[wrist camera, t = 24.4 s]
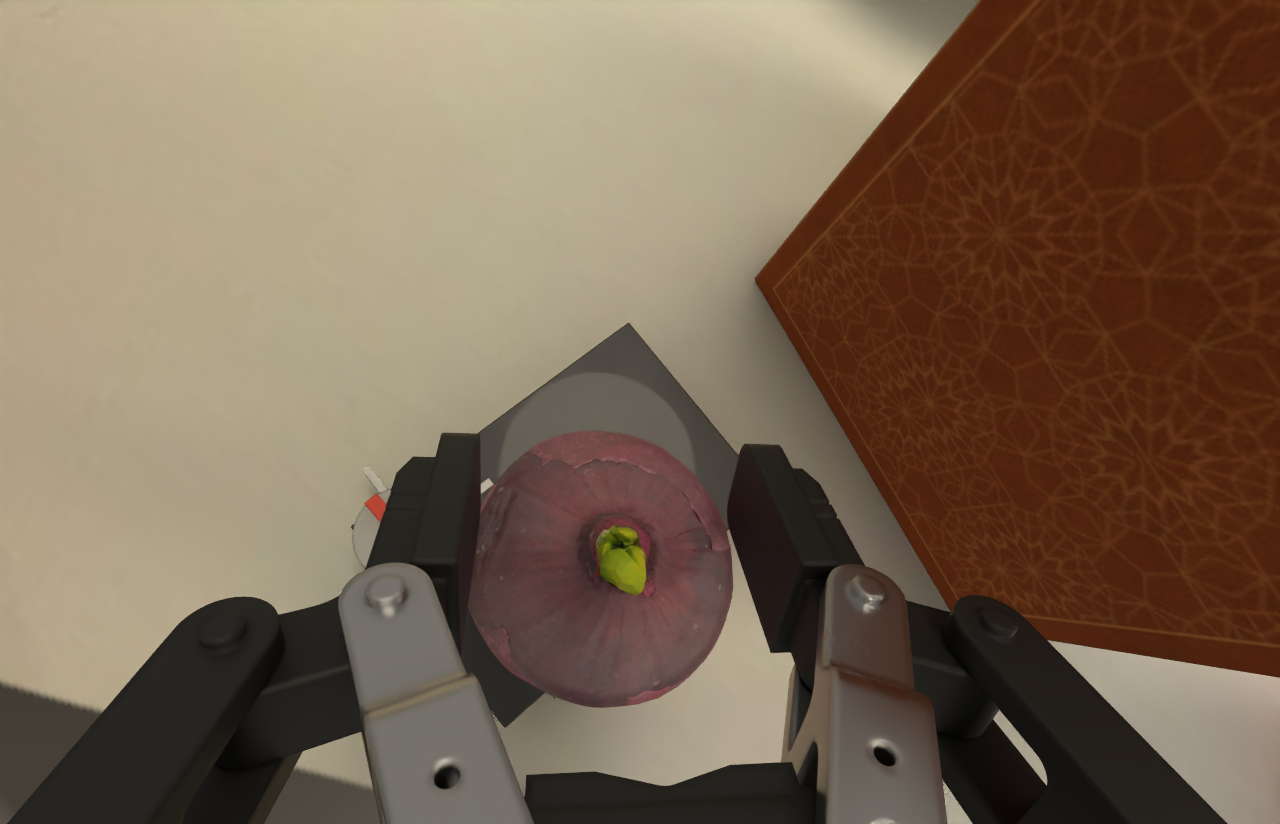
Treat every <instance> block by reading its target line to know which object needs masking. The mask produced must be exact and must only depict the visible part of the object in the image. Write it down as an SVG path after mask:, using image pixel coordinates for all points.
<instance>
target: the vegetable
mask: <svg viewBox="0 0 1280 824" xmlns="http://www.w3.org/2000/svg"><path fill="white" fill-rule="evenodd" d="M732 591H733V576H732V556H731V548H730V544H729V540H728V536H727V531H726V527H725V525H724V522H723V520H722V518H721V516H720V514H719V512H718V510H717V508H716V506H715V504H714V502H713V500H712V498H711V497H710V495H709V494H708V492H707V491H706V489H705V488H704V487H703V485H702V484H701V483H700V481H699V480H698V479H697V477H696V476H695V475H694V474H693V473H692V472H691V471H690V470H689V469H688V468H687V467H686V466H685V465H684V464H683V463H682V462H680V461H679V460H678V459H676V458H675V457H674V456H673V455H671V454H670V453H669V452H667V451H666V450H664V449H663V448H661V447H659V446H658V445H656V444H654V443H651V442H649V441H647V440H644V439H641V438H639V437H636V436H632V435H628V434H623V433H614V432H606V431H594V430H587V431H577V432H571V433H567V434H563V435H559V436H555V437H553V438H550V439H548V440H546V441H543V442H541V443H539V444H537V445H536V446H534V447H533V448H531V449H530V450H528V451H527V452H526V453H524V454H523V455H522V456H521V457H520V458H519V459H518V460H516V461H515V462H514V463H513V464H511V465H510V466H509V467H508V468H507V469H506V470H505V472H504V473H503V474H502V475H501V476H500V478H499V479H498V480H497V481H496V483H495V484H494V485H493V486H492V487H491V489H490V491H489V492H488V494H487V496H486V498H485V499H484V501H483V503H482V505H481V508H480V521H479V529H478V536H477V544H476V551H475V558H474V565H473V573H472V580H471V587H470V595H469V602H468V608H469V610H470V613H471V616H472V618H473V620H474V623H475V625H476V627H477V629H478V631H479V633H480V634H481V636H482V637H483V639H484V641H485V642H486V644H487V645H488V647H489V648H490V650H491V652H492V653H493V654H494V655H495V656H496V658H497V659H498V660H499V661H500V662H501V664H502V665H503V666H504V667H505V668H506V669H507V670H509V671H510V672H511V673H512V674H514V675H516V676H517V677H519V678H521V679H522V680H524V681H526V682H528V683H529V684H531V685H533V686H534V687H536V688H538V689H539V690H541V691H543V692H545V693H547V694H549V695H551V696H553V697H554V698H559V699H562V700H565V701H568V702H571V703H575V704H578V705H582V706H588V707H599V708H605V707H618V706H627V705H634V704H640V703H643V702H646V701H650V700H653V699H656V698H659V697H661V696H662V695H664V694H666V693H668V692H669V691H671V690H673V689H674V688H676V687H678V686H679V685H680V684H681V683H682V682H684V681H685V680H686V679H687V678H689V677H690V675H691V674H692V673H693V672H694V671H695V670H696V669H697V668H698V667H699V666H700V665H701V664H702V663H703V662H704V660H705V659H706V658H707V656H708V655H709V653H710V652H711V651H712V649H713V648H714V646H715V644H716V642H717V640H718V638H719V636H720V634H721V631H722V628H723V626H724V623H725V621H726V616H727V613H728V610H729V607H730V603H731V599H732Z"/></svg>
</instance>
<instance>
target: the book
mask: <svg viewBox="0 0 1280 824" xmlns="http://www.w3.org/2000/svg"><path fill="white" fill-rule="evenodd" d="M755 281H756V283H757V285H758V287H759V288H760V290H761V292H762V293H763V295H764V297H765V298H766V300H767V302H768V303H769V305H770V307H771V309H772V310H773V312H774V314H775V315H776V317H777V319H778V320H779V322H780V324H781V325H782V327H783V329H784V330H785V332H786V334H787V336H788V337H789V339H790V341H791V342H792V344H793V346H794V347H795V349H796V351H797V352H798V354H799V356H800V358H801V359H802V361H803V363H804V364H805V366H806V368H807V369H808V371H809V373H810V374H811V376H812V378H813V380H814V381H815V383H816V385H817V386H818V388H819V390H820V391H821V393H822V395H823V396H824V398H825V400H826V401H827V403H828V405H829V407H830V408H831V410H832V412H833V413H834V415H835V417H836V418H837V420H838V422H839V423H840V425H841V427H842V429H843V430H844V432H845V434H846V435H847V437H848V439H849V440H850V442H851V444H852V445H853V447H854V449H855V450H856V452H857V454H858V456H859V457H860V459H861V461H862V462H863V464H864V466H865V467H866V469H867V471H868V472H869V474H870V476H871V478H872V479H873V481H874V483H875V484H876V486H877V488H878V489H879V491H880V493H881V494H882V496H883V498H884V499H885V501H886V503H887V505H888V506H889V508H890V510H891V511H892V513H893V515H894V516H895V518H896V520H897V521H898V523H899V525H900V527H901V528H902V530H903V532H904V533H905V535H906V537H907V538H908V540H909V542H910V543H911V545H912V547H913V548H914V550H915V552H916V554H917V555H918V557H919V559H920V560H921V562H922V564H923V565H924V567H925V569H926V570H927V572H928V574H929V576H930V577H931V579H932V581H933V582H934V584H935V586H936V587H937V589H938V591H939V592H940V594H941V596H942V598H943V599H944V601H945V603H946V604H947V606H948V608H949V609H950V611H952V609H953V607H954V605H955V603H956V602H957V601H958V600H959V599H960V598H962V597H964V596H968V595H981V596H986V597H990V598H993V599H996V600H998V601H1001V602H1003V603H1005V604H1006V605H1008V606H1010V607H1011V608H1013V609H1015V610H1016V611H1017V612H1019V613H1020V614H1021V615H1022V616H1023V617H1024V618H1025V619H1027V620H1028V621H1029V623H1030V624H1031V625H1032V626H1033V627H1034V628H1035V629H1036V630H1037V631H1038V632H1039V633H1040V634H1041V635H1042V636H1043V637H1044V638H1045V639H1046V640H1051V641H1057V642H1063V643H1069V644H1075V645H1082V646H1088V647H1094V648H1100V649H1106V650H1113V651H1119V652H1125V653H1131V654H1137V655H1143V656H1150V657H1156V658H1162V659H1168V660H1174V661H1181V662H1187V663H1193V664H1199V665H1205V666H1211V667H1218V668H1224V669H1230V670H1236V671H1242V672H1249V673H1255V674H1261V675H1267V676H1273V677H1280V0H979V2H978V3H977V4H976V5H975V7H974V8H973V9H972V10H971V11H970V13H969V14H968V15H967V16H966V18H965V19H964V20H963V21H962V23H961V24H960V25H959V26H958V28H957V29H956V30H955V31H954V32H953V34H952V35H951V36H950V37H949V39H948V40H947V41H946V42H945V44H944V45H943V46H942V47H941V49H940V50H939V51H938V52H937V54H936V55H935V56H934V57H933V58H932V60H931V61H930V62H929V63H928V65H927V66H926V67H925V68H924V70H923V71H922V72H921V73H920V75H919V76H918V77H917V78H916V79H915V81H914V82H913V83H912V84H911V86H910V87H909V88H908V89H907V91H906V92H905V93H904V94H903V96H902V97H901V98H900V99H899V100H898V102H897V103H896V104H895V105H894V107H893V108H892V109H891V110H890V112H889V113H888V114H887V115H886V117H885V118H884V119H883V120H882V122H881V123H880V124H879V125H878V126H877V128H876V129H875V130H874V131H873V133H872V134H871V135H870V136H869V138H868V139H867V140H866V141H865V143H864V144H863V145H862V146H861V147H860V149H859V150H858V151H857V152H856V154H855V155H854V156H853V157H852V159H851V160H850V161H849V162H848V164H847V165H846V166H845V167H844V168H843V170H842V171H841V172H840V173H839V175H838V176H837V177H836V178H835V180H834V181H833V182H832V183H831V185H830V186H829V187H828V188H827V190H826V191H825V192H824V193H823V194H822V196H821V197H820V198H819V199H818V201H817V202H816V203H815V204H814V206H813V207H812V208H811V209H810V211H809V212H808V213H807V214H806V215H805V217H804V218H803V219H802V220H801V222H800V223H799V224H798V225H797V227H796V228H795V229H794V230H793V232H792V233H791V234H790V235H789V237H788V238H787V239H786V240H785V241H784V243H783V244H782V245H781V246H780V248H779V249H778V250H777V251H776V253H775V254H774V255H773V256H772V258H771V259H770V260H769V261H768V262H767V264H766V265H765V266H764V268H763V269H762V270H761V271H760V273H759V274H758V275H757V277H756V278H755Z"/></svg>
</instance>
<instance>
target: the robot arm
mask: <svg viewBox="0 0 1280 824" xmlns="http://www.w3.org/2000/svg"><path fill="white" fill-rule="evenodd" d="M480 508H481V447H480V434H469V433H442V434H441V438H440V441H439V445H438V449H437V453H436V457H412V458H411V459H410V460H409V461H408V462H407V463H406V464H405V465H404V466H403V467H402V468H401V469H400V470H399V471H398V472H397V473H396V476H395V480H394V483H393V486H392V489H391V494H390V495H389V498H388V501H387V504H386V510H385V511H384V513H383V516H382V519H381V522H380V525H379V528H378V532H377V535H376V538H375V541H374V544H373V547H372V550H371V553H370V556H369V559H368V562H367V565H366V568H365V570H364V571H362V572H360V573H359V574H357V575H356V576H354V577H353V578H352V579H351V580H350V581H349V582H348V583H347V584H346V585H345V587H344V588H343V590H342V591H341V594H340V596H338V597H336V598H334V599H332V600H330V601H328V602H325V603H323V604H320V605H316V606H313V607H309V608H305V609H301V610H297V611H293V612H289V613H285V614H281V615H278V614H277V611H276V610H275V608H274V607H273V606H272V605H271V604H269V603H268V602H266V601H264V600H261V599H258V598H254V597H233V598H227V599H223V600H219V601H216V602H213V603H211V604H208V605H206V606H204V607H202V608H200V609H198V610H196V611H195V612H193V613H192V614H190V615H189V616H187V617H186V618H185V619H184V620H182V621H181V622H180V623H179V624H178V625H177V626H176V627H175V629H174V630H173V631H172V632H171V633H170V634H169V636H168V637H167V638H166V639H165V640H164V641H163V643H162V644H161V645H160V646H159V647H158V648H157V650H156V651H155V652H154V653H153V654H152V655H151V657H150V658H149V659H148V660H147V661H146V662H145V664H144V665H143V666H142V667H141V668H140V669H139V671H138V672H137V673H136V674H135V675H134V676H133V678H132V679H131V680H130V681H129V682H128V683H127V685H126V686H125V687H124V688H123V689H122V690H121V692H120V693H119V694H118V695H117V696H116V697H115V699H114V700H113V701H112V702H111V703H110V704H109V706H108V707H107V708H106V709H105V710H104V711H103V713H102V714H101V715H100V716H99V717H98V718H97V720H96V721H95V722H94V723H93V724H92V725H91V726H90V728H89V729H88V730H87V731H86V732H85V734H84V735H83V736H82V737H81V738H80V739H79V740H78V742H77V743H76V744H75V745H74V746H73V748H72V749H71V750H70V751H69V752H68V753H67V754H66V756H65V757H64V758H63V759H62V760H61V761H60V763H59V764H58V765H57V766H56V767H55V769H54V770H53V771H52V772H51V773H50V774H49V776H48V777H47V778H46V779H45V780H44V781H43V782H42V784H41V785H40V786H39V787H38V788H37V789H36V791H35V792H34V793H33V794H32V795H31V796H30V798H29V799H28V800H27V801H26V802H25V803H24V805H23V806H22V807H21V808H20V809H19V810H18V812H17V813H16V814H15V815H14V816H13V817H12V819H11V820H10V821H9V822H8V823H7V824H264V822H265V820H266V819H267V817H268V815H269V813H270V811H271V809H272V807H273V806H274V804H275V802H276V800H277V798H278V796H279V794H280V792H281V791H282V789H283V787H284V785H285V783H286V781H287V780H288V778H289V776H290V774H291V772H292V770H293V768H294V767H295V765H296V763H297V761H298V759H299V757H300V755H301V754H302V752H303V751H305V750H308V749H311V748H314V747H317V746H320V745H323V744H326V743H329V742H332V741H335V740H338V739H340V738H343V737H346V736H349V735H352V734H355V733H358V732H361V733H362V738H363V743H364V747H365V752H366V757H367V762H368V766H369V771H370V776H371V780H372V785H373V790H374V795H375V799H376V804H377V808H378V813H379V818H380V823H381V824H947V816H946V807H945V799H944V791H943V782H942V779H943V781H944V782H945V783H946V785H947V786H948V788H949V789H950V791H951V792H952V794H953V795H954V797H955V798H956V800H957V801H958V803H959V804H960V805H961V807H962V808H963V810H964V811H965V813H966V814H967V816H968V817H969V819H970V820H971V822H972V823H973V824H1227V823H1226V822H1225V821H1224V820H1223V819H1222V818H1221V817H1220V816H1219V815H1218V814H1217V813H1216V812H1215V811H1214V810H1213V809H1212V808H1211V807H1210V806H1209V805H1208V803H1207V802H1206V801H1205V800H1204V799H1203V798H1202V797H1201V796H1200V795H1199V794H1198V793H1197V792H1196V791H1195V790H1194V789H1193V788H1192V787H1191V786H1190V785H1189V784H1188V783H1187V782H1186V781H1185V780H1184V779H1183V778H1182V777H1181V776H1180V775H1179V774H1178V773H1177V772H1176V771H1175V770H1174V769H1173V768H1172V767H1171V766H1170V765H1169V764H1168V763H1167V762H1166V761H1165V760H1164V759H1163V758H1162V757H1161V756H1160V755H1159V754H1158V753H1157V752H1156V751H1155V750H1154V749H1153V748H1152V747H1151V746H1150V745H1149V744H1148V742H1147V741H1146V740H1145V739H1144V738H1143V737H1142V736H1141V735H1140V734H1139V733H1138V732H1137V731H1136V730H1135V729H1134V728H1133V727H1132V726H1131V725H1130V724H1129V723H1128V722H1127V721H1126V720H1125V719H1124V718H1123V717H1122V716H1121V715H1120V714H1119V713H1118V712H1117V711H1116V710H1115V709H1114V708H1113V707H1112V706H1111V705H1110V704H1109V703H1108V702H1107V701H1106V700H1105V699H1104V698H1103V697H1102V696H1101V695H1100V694H1099V693H1098V692H1097V691H1096V690H1095V689H1094V688H1093V687H1092V686H1091V685H1090V684H1089V683H1088V681H1087V680H1086V679H1085V678H1084V677H1083V676H1082V675H1081V674H1080V673H1079V672H1078V671H1077V670H1076V669H1075V668H1074V667H1073V666H1072V665H1071V664H1070V663H1069V662H1068V661H1067V660H1066V659H1065V658H1064V657H1063V656H1062V655H1061V654H1060V653H1059V652H1058V651H1057V650H1056V649H1055V648H1054V647H1053V646H1052V645H1051V644H1050V643H1049V642H1048V641H1047V640H1046V639H1045V638H1044V637H1043V636H1042V635H1041V634H1040V633H1039V632H1038V631H1037V630H1036V629H1035V628H1034V627H1033V626H1032V625H1031V624H1030V623H1029V621H1028V620H1027V619H1025V618H1024V617H1023V616H1022V615H1021V614H1020V613H1019V612H1017V611H1016V610H1015V609H1013V608H1011V607H1010V606H1008V605H1006V604H1005V603H1003V602H1001V601H998V600H996V599H993V598H990V597H986V596H981V595H968V596H964V597H962V598H960V599H959V600H958V601H957V602H956V603H955V605H954V607H953V609H952V611H951V612H948V611H944V610H940V609H936V608H932V607H928V606H924V605H920V604H917V603H913V602H910V601H907V600H906V599H905V596H904V594H903V593H902V591H901V589H900V588H899V587H898V586H897V585H896V584H895V583H894V582H893V581H892V580H891V579H890V578H888V577H887V576H886V575H884V574H882V573H881V572H879V571H877V570H875V569H872V568H869V567H866V566H865V565H864V563H863V561H862V559H861V558H860V556H859V554H858V552H857V550H856V549H855V547H854V545H853V543H852V541H851V540H850V538H849V536H848V534H847V532H846V531H845V529H844V527H843V525H842V523H841V522H840V520H839V519H837V514H836V512H835V511H834V509H833V507H832V505H829V500H828V498H827V496H826V494H825V493H824V491H823V489H822V487H821V485H820V484H819V483H818V482H817V481H816V480H815V479H813V478H812V477H811V476H810V475H809V474H808V473H807V472H805V471H804V470H803V469H797V468H792V467H791V465H790V463H789V461H788V459H787V457H786V455H785V453H784V451H783V449H782V448H781V447H780V446H779V445H765V444H744V445H743V446H742V448H741V450H740V454H739V458H738V462H737V466H736V470H735V474H734V478H733V482H732V486H731V490H730V494H729V498H728V504H727V520H728V526H729V530H730V533H731V536H732V539H733V542H734V545H735V548H736V551H737V554H738V557H739V560H740V563H741V565H742V568H743V571H744V574H745V577H746V580H747V583H748V586H749V589H750V592H751V595H752V598H753V601H754V604H755V607H756V610H757V613H758V616H759V619H760V622H761V625H762V628H763V631H764V634H765V637H766V640H767V643H768V646H769V649H770V652H771V653H783V652H791V654H792V656H793V659H794V662H795V664H794V667H793V669H792V672H791V675H790V680H789V689H788V699H787V709H786V719H785V729H784V738H783V748H782V758H781V763H761V764H741V765H729V766H726V767H723V768H720V769H717V770H714V771H712V772H709V773H706V774H703V775H700V776H697V777H694V778H692V779H689V780H686V781H683V782H680V783H677V784H674V785H670V786H659V785H654V784H650V783H645V782H640V781H636V780H631V779H627V778H622V777H617V776H613V775H608V774H604V773H599V772H578V773H558V774H537V775H526V791H525V797H524V796H523V794H522V791H521V789H520V786H519V783H518V781H517V778H516V776H515V773H514V771H513V768H512V765H511V763H510V760H509V758H508V755H507V752H506V750H505V747H504V745H503V742H502V740H501V737H500V734H499V732H498V729H497V727H496V724H495V722H494V719H493V716H492V714H491V711H490V709H489V706H488V704H487V701H486V698H485V696H484V693H483V691H482V688H481V686H480V683H479V681H478V679H477V678H476V676H475V675H474V674H473V673H470V674H467V673H466V671H465V669H464V666H463V663H462V661H461V653H462V646H463V638H464V631H465V624H466V616H467V609H468V602H469V595H470V587H471V580H472V573H473V565H474V558H475V551H476V544H477V536H478V529H479V521H480ZM999 709H1000V711H1001V712H1002V713H1003V714H1004V716H1005V717H1006V718H1007V719H1008V720H1009V722H1010V723H1011V724H1012V725H1013V726H1014V728H1015V729H1016V730H1017V731H1018V732H1019V734H1020V735H1021V736H1022V737H1023V739H1024V740H1025V741H1026V742H1027V743H1028V745H1029V746H1030V747H1031V748H1032V749H1033V751H1034V752H1035V753H1036V754H1037V756H1038V757H1039V758H1040V760H1041V762H1042V764H1043V766H1044V768H1045V771H1046V775H1047V786H1046V784H1045V783H1044V782H1043V781H1042V779H1041V778H1040V777H1039V776H1038V775H1037V773H1036V772H1035V771H1034V770H1033V768H1032V767H1031V766H1030V765H1029V763H1028V762H1027V761H1026V760H1025V758H1024V757H1023V756H1022V755H1021V753H1020V752H1019V751H1018V750H1017V748H1016V747H1015V746H1014V745H1013V743H1012V742H1011V741H1010V740H1009V739H1008V737H1007V736H1006V735H1005V734H1004V732H1003V731H1002V730H1001V729H1000V727H999V726H998V725H997V724H996V722H995V721H994V720H993V718H994V717H995V715H996V714H997V712H998V711H999Z"/></svg>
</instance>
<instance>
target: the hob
mask: <svg viewBox="0 0 1280 824" xmlns="http://www.w3.org/2000/svg"><path fill="white" fill-rule="evenodd" d="M587 430H594V431H606V432H614V433H623V434H628V435H632V436H636V437H639V438H641V439H644V440H647V441H649V442H651V443H654V444H656V445H658V446H659V447H661V448H663V449H664V450H666V451H667V452H669V453H670V454H671V455H673V456H674V457H675V458H676V459H678V460H679V461H680V462H682V463H683V464H684V465H685V466H686V467H687V468H688V469H689V470H690V471H691V472H692V473H693V474H694V475H695V476H696V477H697V479H698V480H699V481H700V483H701V484H702V485H703V487H704V488H705V489H706V491H707V492H708V494H709V495H710V497H711V498H712V500H713V502H714V504H715V506H716V508H717V510H718V512H719V514H720V516H721V518H722V520H723V522H724V525H725V527H726V531H727V530H728V529H729V526H728V520H727V504H728V498H729V494H730V490H731V486H732V482H733V478H734V474H735V470H736V466H737V462H738V458H739V456H738V455H737V453H736V452H735V451H734V450H733V449H732V447H731V446H730V445H729V444H728V442H727V441H726V440H725V439H724V438H723V436H722V435H721V434H720V433H719V432H718V430H717V429H716V428H715V427H714V425H713V424H712V423H711V422H710V421H709V419H708V418H707V417H706V416H705V415H704V413H703V412H702V411H701V410H700V408H699V407H698V406H697V405H696V404H695V402H694V401H693V400H692V399H691V398H690V396H689V395H688V394H687V393H686V391H685V390H684V389H683V388H682V387H681V385H680V384H679V383H678V382H677V381H676V379H675V378H674V377H673V376H672V374H671V373H670V372H669V371H668V370H667V368H666V367H665V366H664V365H663V364H662V362H661V361H660V360H659V359H658V357H657V356H656V355H655V354H654V353H653V351H652V350H651V349H650V348H649V346H648V345H647V344H646V343H645V342H644V340H643V339H642V338H641V337H640V336H639V334H638V333H637V332H636V331H635V329H634V328H633V327H632V326H631V325H630V323H627V324H626V325H625V326H623V327H622V328H620V329H619V330H618V331H616V332H615V333H614V334H612V335H611V336H610V337H608V338H607V339H605V340H604V341H603V342H601V343H600V344H599V345H597V346H596V347H595V348H593V349H592V350H590V351H589V352H588V353H586V354H585V355H584V356H582V357H581V358H580V359H578V360H577V361H575V362H574V363H573V364H571V365H570V366H569V367H567V368H566V369H565V370H563V371H562V372H560V373H559V374H558V375H556V376H555V377H554V378H552V379H551V380H550V381H548V382H547V383H545V384H544V385H543V386H541V387H540V388H539V389H537V390H536V391H535V392H533V393H532V394H530V395H529V396H528V397H526V398H525V399H524V400H522V401H521V402H520V403H518V404H517V405H515V406H514V407H513V408H511V409H510V410H509V411H507V412H506V413H505V414H503V415H502V416H500V417H499V418H498V419H496V420H495V421H494V422H492V423H491V424H490V425H488V426H487V427H485V428H484V429H483V430H481V431H480V432H479V433H477V434H480V447H481V505H482V503H483V501H484V499H485V498H486V496H487V494H488V492H489V491H490V489H491V487H492V486H493V485H494V484H495V483H496V481H497V480H498V479H499V478H500V476H501V475H502V474H503V473H504V472H505V470H506V469H507V468H508V467H509V466H510V465H511V464H513V463H514V462H515V461H516V460H518V459H519V458H520V457H521V456H522V455H523V454H524V453H526V452H527V451H528V450H530V449H531V448H533V447H534V446H536V445H537V444H539V443H541V442H543V441H546V440H548V439H550V438H553V437H555V436H559V435H563V434H567V433H571V432H577V431H587ZM362 471H363V472H364V473H365V474H366V476H367V477H368V478H369V480H370V481H371V482H372V484H373V485H374V486H375V487H376V489H377V490H378V491H379V493H381V492H383V491H386V490H388V488H387V487H386V486H385V484H384V483H383V482H382V481H381V479H380V478H379V477H378V475H377V474H376V473H375V472H374V470H373V469H372V468H371V466H370V465H368V466H367V467H366V468H364V469H363V470H362ZM351 528H352V529H353V528H354V524H353V525H352V526H351ZM342 590H343V589H342ZM342 590H341V591H342ZM341 591H339V594H341ZM461 661H462V663H463V666H464V669H465V671H466V673H467V674H470V673H473V674H474V675H475V676H476V678H477V679H478V681H479V683H480V686H481V688H482V691H483V693H484V696H485V698H486V701H487V704H488V706H489V708H490V709H491V711H492V712H493V713H494V715H495V716H496V717H497V719H498V720H499V721H500V722H501V724H502V725H503V726H504V727H507V726H508V725H509V724H510V723H512V722H513V721H514V720H515V719H516V718H517V717H518V716H519V715H521V714H522V713H523V712H524V711H525V710H526V709H527V708H528V707H530V706H531V705H532V704H533V703H534V702H535V701H536V700H537V699H539V698H540V697H541V696H542V695H543V694H544V693H545V692H543V691H541V690H539V689H538V688H536V687H534V686H533V685H531V684H529V683H528V682H526V681H524V680H522V679H521V678H519V677H517V676H516V675H514V674H512V673H511V672H510V671H509V670H507V669H506V668H505V667H504V666H503V665H502V664H501V662H500V661H499V660H498V659H497V658H496V656H495V655H494V654H493V653H492V652H491V650H490V648H489V647H488V645H487V644H486V642H485V641H484V639H483V637H482V636H481V634H480V633H479V631H478V629H477V627H476V625H475V623H474V620H473V618H472V616H471V613H470V610H469V608H468V609H467V616H466V624H465V631H464V638H463V646H462V653H461Z"/></svg>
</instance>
